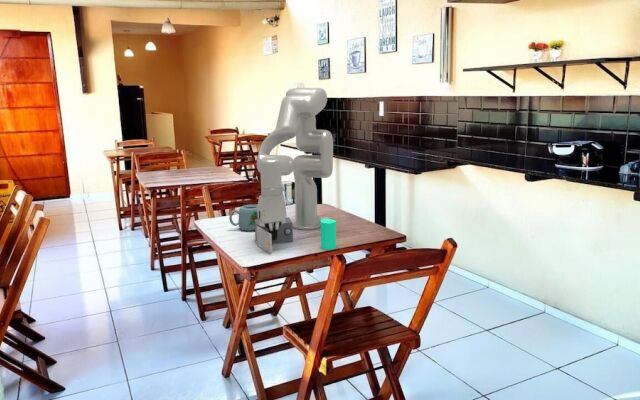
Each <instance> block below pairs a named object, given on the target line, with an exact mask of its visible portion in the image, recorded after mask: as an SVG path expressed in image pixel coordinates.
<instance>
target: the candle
mask: <svg viewBox="0 0 640 400" xmlns="http://www.w3.org/2000/svg"><path fill="white" fill-rule="evenodd" d="M327 218H328V219H324V220H321V226H320V249H322V250H324V251H325V250H326V251H329V250H335V249H336V248H337V220H334V219H331V218H329V217H327Z"/></svg>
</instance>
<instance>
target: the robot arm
mask: <svg viewBox="0 0 640 400" xmlns="http://www.w3.org/2000/svg"><path fill="white" fill-rule="evenodd" d="M327 101H328V94H327V92H326V90H325V89H324V88H323V87H295V88H290V89H288V90H286V93H285V96H284V97H283V98H282V100H281V104H280V108H279V111H278V117H277V121H276V126H275V129H274V130H273V131H272V132H271V133H269V134H268V135H267V136H266V138H265V139H264V140H263V141H262V143H261V145H260V147H259V150H258V155H257V160H256V169H257V171H258V172H259V173H260V187H261V188H260V189H261V190H260V192H261V194H260V195H259V196H258V202H257V205H258V220H259V226H263V227H266V228H267V229H268V232H269V233H270V234H272V241H274V240H277V237H278V235H277V230H278V229H279V227H280V225H281V224H284V223H286V217H287V207H286V202H285V197H284V194H283V192H285V191H286V188H285V187H283V186H282V177H283V176H284V177H285V176H289V175H290V174H292V173H293V178H294V200H295V201H294V204H295V207H294V208H295V209H294V210H295V221H294V222H292V223H293V229H297V230H303V231H304V230H305V231H306V230H307V231H308V230H317V229H319V228H321V220H324V219H328V217H327V216H325V217H324V216H318V189H317V185H316V182H315V180H314V179H313V178H319V179H327V178H330V177H331V176H332V174H333V170H334V169H333V168H334V139H333V135H332V132H331V131H329V130H327V129H317V126H316V124H317V120H316V116H317V115H318V114H319V113H320V112H322V110H324V109H325V107H326V105H327ZM294 138H295V147H296V148H297V150H298V151H300V152H305V153H306V152H307V153H319V154H320V155H319V154H318V155H315V154H314V155H313V154H301V155H297V156H295V157H294V158H293V157H291V156H290V155H285V154H284V155H283V154H282V155H280V154H270V153H271V152H272V151H273V150H274V148H276V146H279V145H281V144H282V143H284V142H287V141H289V140H292V139H294ZM272 222H273V227H272Z"/></svg>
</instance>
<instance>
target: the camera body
mask: <svg viewBox="0 0 640 400" xmlns="http://www.w3.org/2000/svg"><path fill="white" fill-rule="evenodd" d="M293 223H294V222H293V221H292V220H291V218H290V217H287V216H286V223H284V224H281V225H280V227H279V229H278V230H277V235H278V237H277V240H274V241H272V245H273V244H284V243H285V244H286V243H287V244H288V243H294V232H293V231H294V228H293ZM256 226H259V220H258V219H255V231H254V239H255V240H256ZM259 227H260V228H262V229H264V230H265V231H267V232H268V229H267V228H266V227H263V226H259ZM272 227H273V222H272Z"/></svg>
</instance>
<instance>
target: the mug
mask: <svg viewBox="0 0 640 400" xmlns="http://www.w3.org/2000/svg"><path fill="white" fill-rule="evenodd" d="M233 213H236V214H238V219H237V222H236V223H235V222H234V221H233ZM255 219H258V204H245V205H242V206H240V207H239V209H238V210H237V209H232V210H231V211H230V213H229V222H230V224H231V225H232V226H233V227H236V226H238V228H239V229H241V230H242V231H245V232H252V231H253V232H255Z"/></svg>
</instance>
